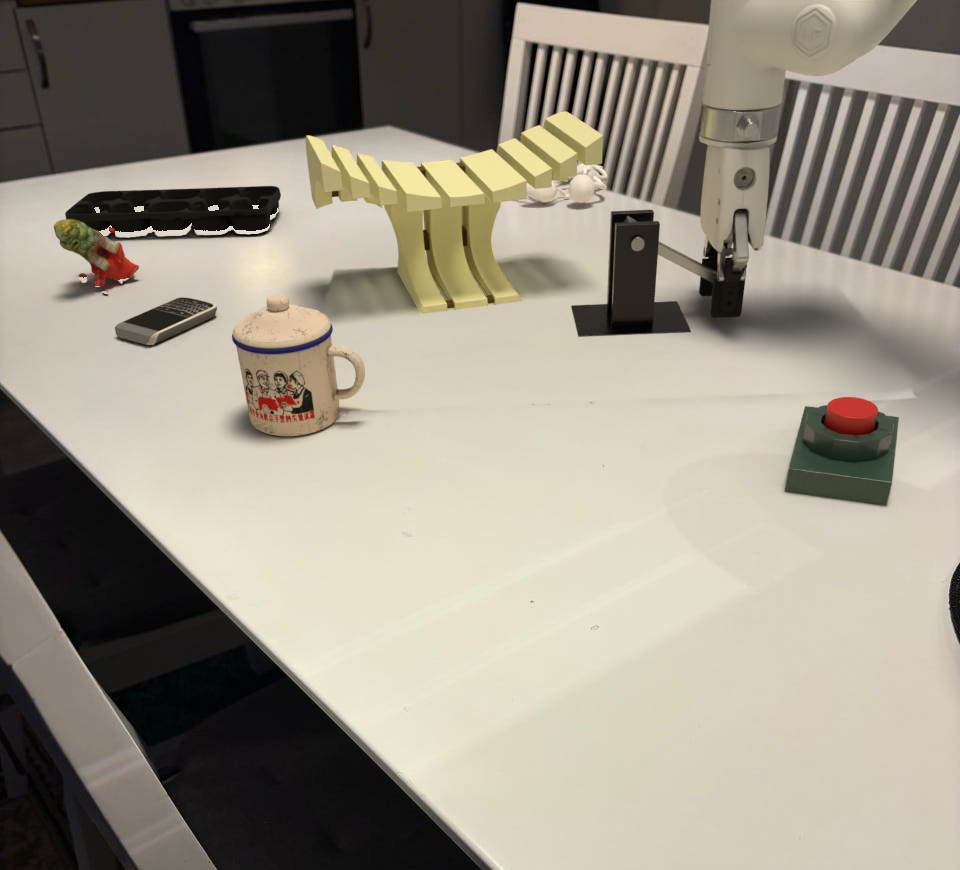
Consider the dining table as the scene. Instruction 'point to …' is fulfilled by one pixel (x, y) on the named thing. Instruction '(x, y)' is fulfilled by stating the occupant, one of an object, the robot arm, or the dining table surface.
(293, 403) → the teacup with lid
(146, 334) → the cell phone
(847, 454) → the button block
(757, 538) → the dining table surface
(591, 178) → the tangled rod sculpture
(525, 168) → the slatted curved stool
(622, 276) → the lever bracket
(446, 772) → the dining table surface
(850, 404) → the button
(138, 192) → the egg carton
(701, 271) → the lever handle
